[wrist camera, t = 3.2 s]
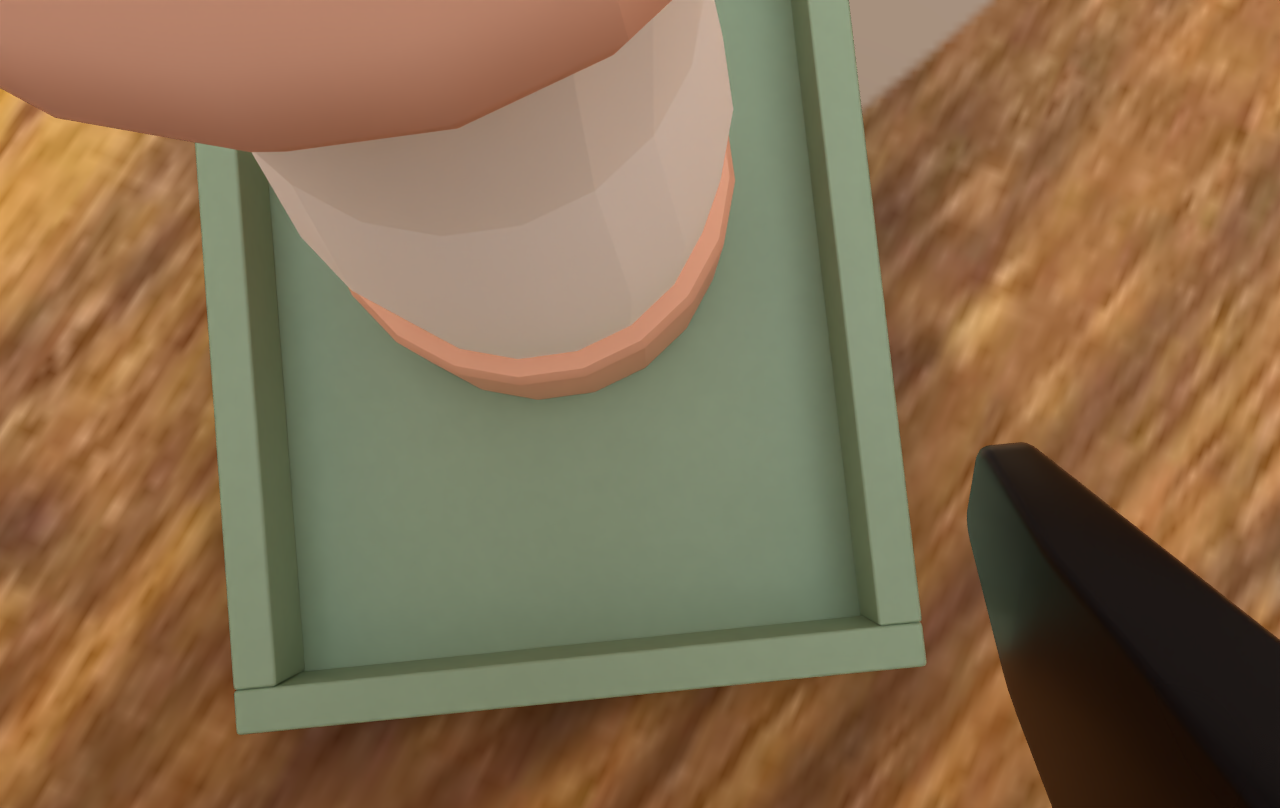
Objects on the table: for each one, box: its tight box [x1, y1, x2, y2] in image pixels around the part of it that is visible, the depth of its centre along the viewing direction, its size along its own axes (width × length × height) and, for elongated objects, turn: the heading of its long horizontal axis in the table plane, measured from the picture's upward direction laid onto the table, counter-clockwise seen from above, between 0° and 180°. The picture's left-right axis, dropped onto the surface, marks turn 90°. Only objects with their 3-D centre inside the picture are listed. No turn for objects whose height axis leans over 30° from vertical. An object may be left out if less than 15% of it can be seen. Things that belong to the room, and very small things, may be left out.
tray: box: [195, 0, 926, 735], centre depth 22 cm, size 16×13×2 cm
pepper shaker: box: [0, 0, 735, 400], centre depth 13 cm, size 7×7×19 cm
